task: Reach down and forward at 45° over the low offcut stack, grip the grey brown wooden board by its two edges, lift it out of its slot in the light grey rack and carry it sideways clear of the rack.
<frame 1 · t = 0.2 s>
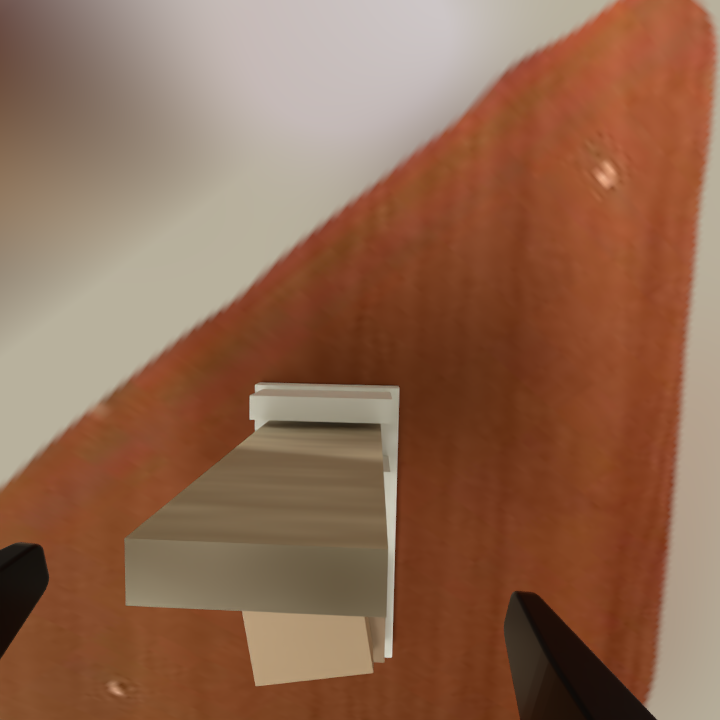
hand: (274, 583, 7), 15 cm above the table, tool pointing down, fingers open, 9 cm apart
offcut rack: (328, 428, 23), on the table
grey brown wooden board: (326, 432, 22), point 1 cm above the table, touching offcut rack
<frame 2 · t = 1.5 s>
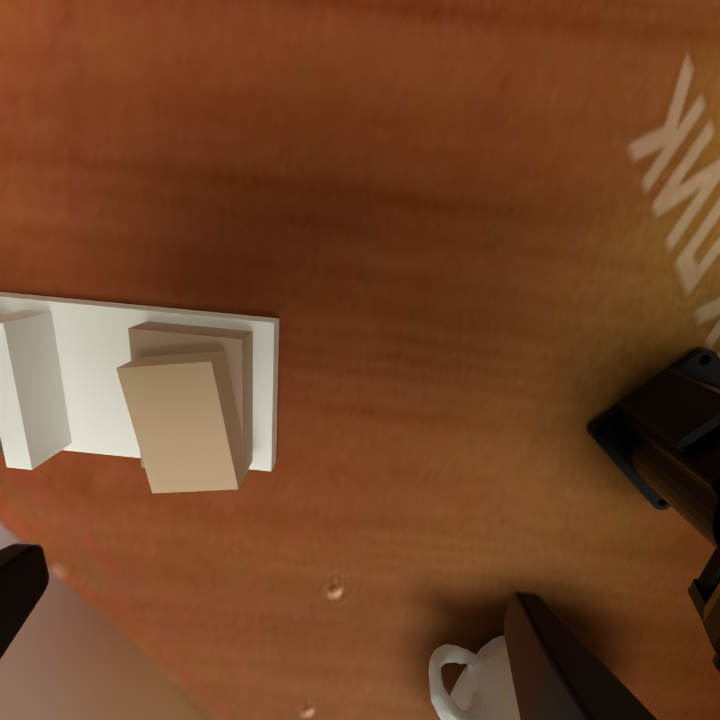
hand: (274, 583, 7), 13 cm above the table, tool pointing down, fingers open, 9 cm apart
offcut rack: (32, 369, 21), on the table
teacup: (504, 650, 25), on the table
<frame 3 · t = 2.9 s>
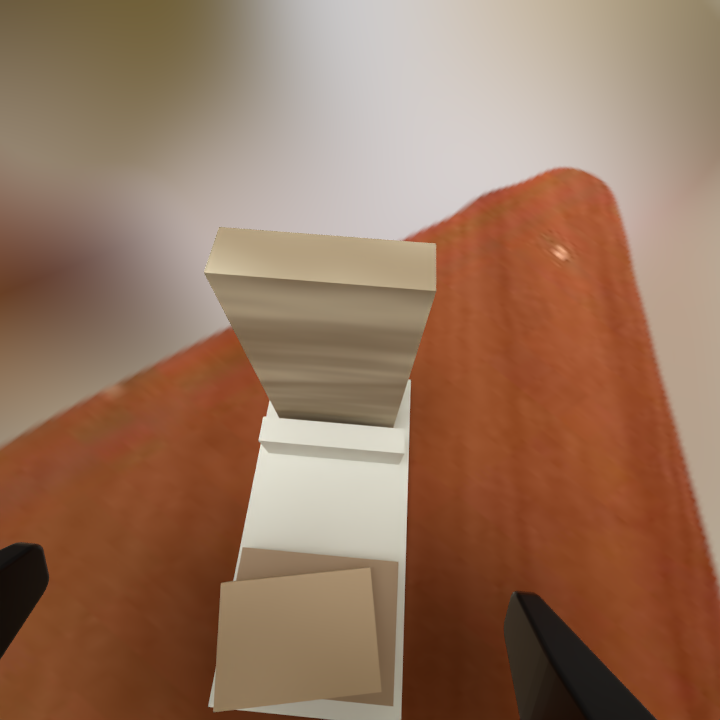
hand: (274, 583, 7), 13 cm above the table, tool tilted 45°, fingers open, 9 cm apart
offcut rack: (338, 421, 23), on the table
grey brown wooden board: (338, 416, 22), point 1 cm above the table, touching offcut rack
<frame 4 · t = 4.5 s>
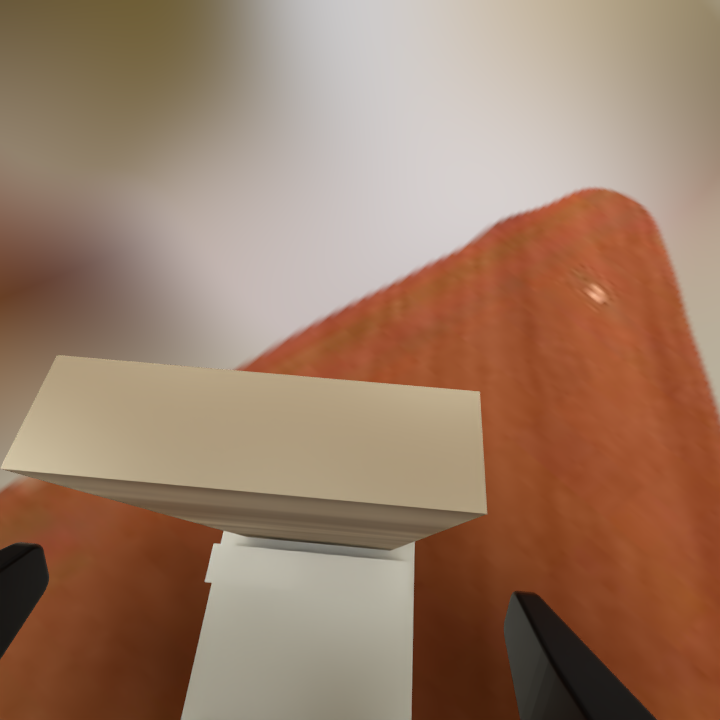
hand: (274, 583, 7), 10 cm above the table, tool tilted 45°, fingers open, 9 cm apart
offcut rack: (322, 525, 18), on the table
grey brown wooden board: (320, 523, 17), point 1 cm above the table, touching offcut rack
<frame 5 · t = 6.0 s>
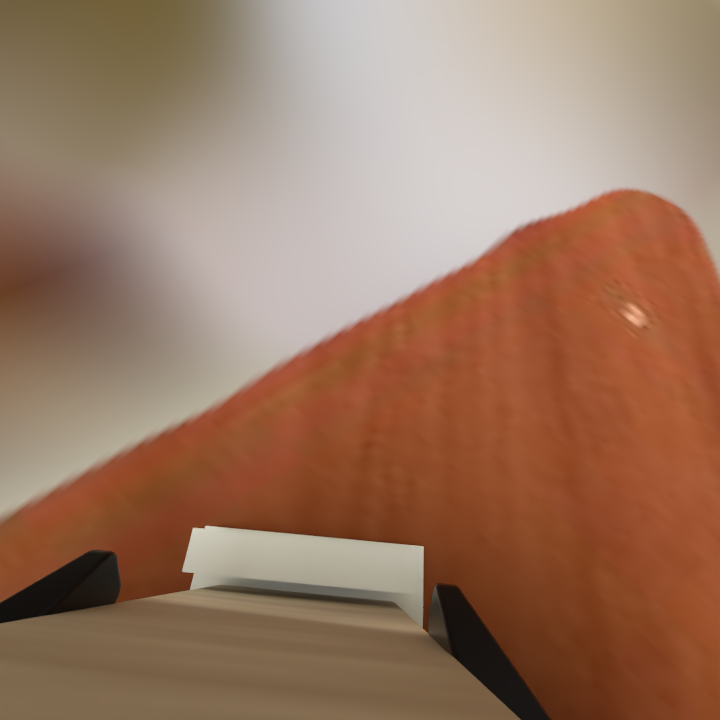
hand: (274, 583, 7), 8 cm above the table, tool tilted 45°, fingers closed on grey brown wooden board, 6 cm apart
offcut rack: (306, 616, 14), on the table
grey brown wooden board: (303, 620, 13), point 1 cm above the table, touching gripper, offcut rack
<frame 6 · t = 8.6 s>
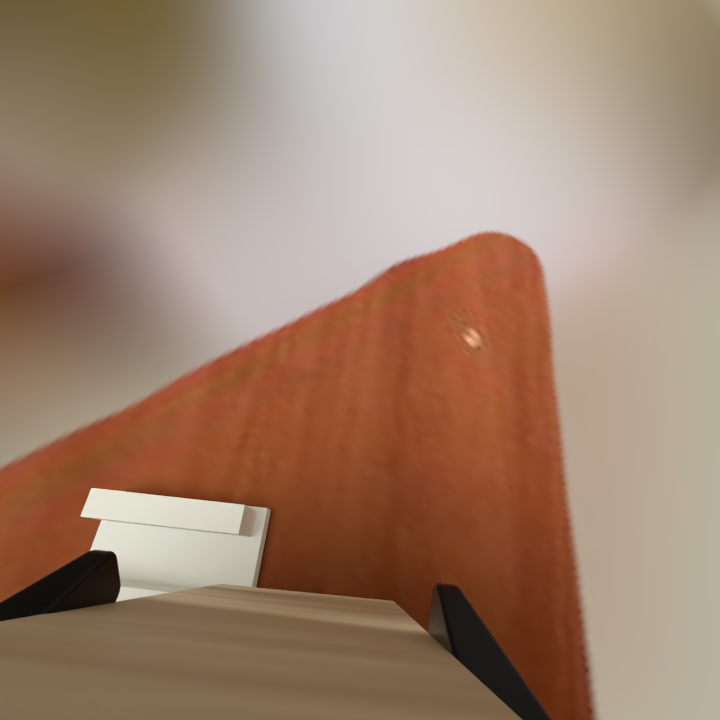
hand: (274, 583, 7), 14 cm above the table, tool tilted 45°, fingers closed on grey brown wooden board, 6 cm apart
offcut rack: (181, 556, 20), on the table
grey brown wooden board: (302, 620, 13), point 6 cm above the table, touching gripper
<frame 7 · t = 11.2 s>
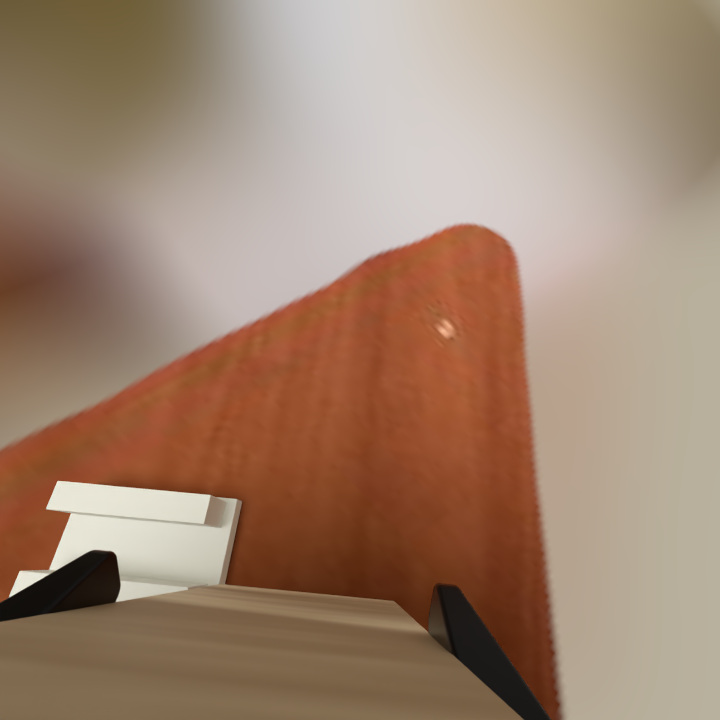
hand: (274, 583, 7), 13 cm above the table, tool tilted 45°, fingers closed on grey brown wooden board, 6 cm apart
offcut rack: (151, 548, 20), on the table
grey brown wooden board: (303, 620, 13), point 6 cm above the table, touching gripper
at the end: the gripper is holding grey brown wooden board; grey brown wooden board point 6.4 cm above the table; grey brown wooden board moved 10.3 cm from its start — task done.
